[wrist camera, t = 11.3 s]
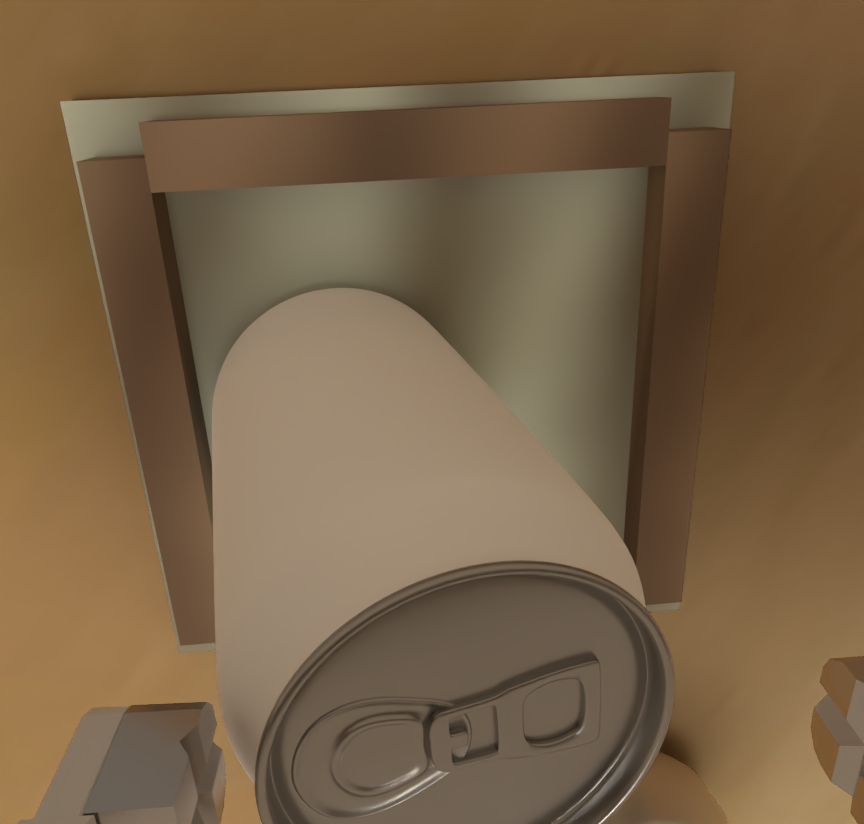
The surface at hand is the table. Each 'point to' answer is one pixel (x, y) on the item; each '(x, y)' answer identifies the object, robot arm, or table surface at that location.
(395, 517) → the can
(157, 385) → the wooden picture frame
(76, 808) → the robot arm
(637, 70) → the table surface
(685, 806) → the plastic bottle
